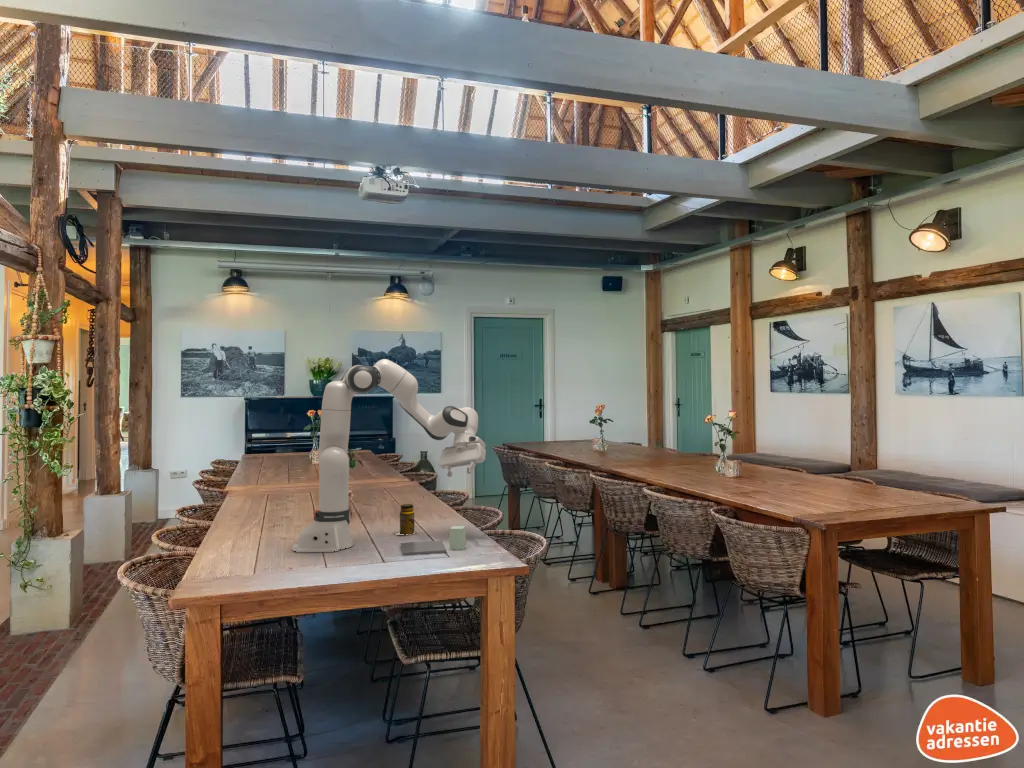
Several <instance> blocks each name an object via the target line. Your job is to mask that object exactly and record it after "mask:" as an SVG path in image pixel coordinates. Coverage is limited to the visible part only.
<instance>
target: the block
mask: <svg viewBox="0 0 1024 768" xmlns="http://www.w3.org/2000/svg"><path fill="white" fill-rule="evenodd" d="M466 532H467V531H466V525H452V526H451V527H449V550H450V549H464V550H465V549H466V547H465V546H467V545H466V544H467V541H466V540H467V539H466V536H467V535H466Z"/></svg>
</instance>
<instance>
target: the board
mask: <svg viewBox="0 0 1024 768" xmlns="http://www.w3.org/2000/svg"><path fill="white" fill-rule="evenodd" d="M400 545H401V546H400V549H401V553H402V554H403V555H405V556H416V555H415V554H421V555H432V554H431V553H437V554H447V553H448V552H447V548H446V547H445V544H444V542H443V541H442V540H432V541H412V542H400ZM403 555H402V556H403Z"/></svg>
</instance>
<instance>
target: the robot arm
mask: <svg viewBox="0 0 1024 768" xmlns="http://www.w3.org/2000/svg"><path fill="white" fill-rule="evenodd" d="M377 386H378V387H381V388H383V389H384V390H385V391H387V392H388V393H389V394H391V395H392V397H394V398H395V399H396V400H397V402H398V404H399V406H400V407H401V408H402V410H404V411H405V412H406V413H407V414H408V415H409V416H410V417H411V418H412V419H413V420H414V421H415V422H416V423H417V424H419V426H421V428H422V429H423V430H424V431H425V433H426V434H427V435H428V437H429V438H430V439H433V440H435V441H442V440H444V439H446V438H447V437H448V436H449V435H450V434H451V433H453V434H454V438H453V443H452V446H449V447H448V446H447V447H445V448H444V449H442V451H441V453H440V457H439V459H438V462H437V463H438V466H439V467H440V468H441V469H442V470H446V477H448V478H450V477H451V478H452V476H453V472H452V471H451V470H452V469H453V468H457V467H464V466H465V467H466V466H469V467H467V468H466V469H467V470H466V473H467V474H468V475H469V474H473V470H474V469H475V468H476V466H477V464H482V463H484V462H485V460H486V454H487V451H486V447H487V446H486V443H485V442H484V441H483V440H482V439H481V438H480V437H479V436H476V435H477V432H478V428H479V427H478V426H479V415H478V412H477V411H476V410H475V409H473V408H472V407H468V406H465V407H461V408H459V407H456V406H453V405H446V406H445V407H444V408H443V409H441V410H440V411H439V412H438V413H436V414H435V415H433V414H431V413H430V412H428V411H427V410H426V409H425V408H424V407H423V406H422V405H421V404H420V403H419V401H418V399H417V395H418V392H419V383H418V380H417V378H416V377H415V376H414V375H413V374H412V373H411V372H409V371H408V370H406V369H405V368H404V367H403V366H400V365H398V363H396V362H393V361H391V360H389V359H387V358H382V359H379V360H378V361H377V362H376V363H375V364H374V365H373V366H369V365H364V364H363V365H362V364H355V365H353V366H351V367H350V368H348V369H347V370H346V372H345V373H344V375H343V376H342V378H341V379H340V380H333V381H331V382H328V383H327V384H326V385H325V387H324V391H323V395H322V402H321V413H320V414H321V415H320V430H319V440H318V441H319V443H318V455H317V456H318V458H317V460H318V508H319V509H315V510H313V512H312V515H313V521H311V522H310V523H309V524H308V525H307V526H305V528H303V529H302V530H301V531H300V533H299V536H298V541H297V542H296V543H294V544H293V546H292V551H293V552H294V551H296V552H295V553H334V551H335V552H338V551H341V550H345V548H346V549H348V548H351V547H353V546H354V542H353V539H352V533H351V527H350V523H351V512H350V511H351V510H350V508H349V501H350V500H349V487H350V484H349V482H350V481H349V480H350V457H349V454H348V450H349V441H350V440H349V439H350V432H351V431H350V430H351V414H352V411H351V410H352V401H353V398H354V396H355V395H356V394H365V393H368V392H370V391H372V390H373V389H374V388H375V387H377ZM340 549H341V550H340Z"/></svg>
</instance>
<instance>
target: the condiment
mask: <svg viewBox="0 0 1024 768" xmlns="http://www.w3.org/2000/svg"><path fill="white" fill-rule="evenodd" d="M415 527H416V526H415V510H414V504H412V503H411V504H410V503H403V504H401V505H400V511H399V531H398V532H400V534H404V535H406V534H413V533H414V532H415ZM398 532H397V533H398ZM393 533H394V535H395V533H396V532H393ZM406 536H407V535H406Z"/></svg>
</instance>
